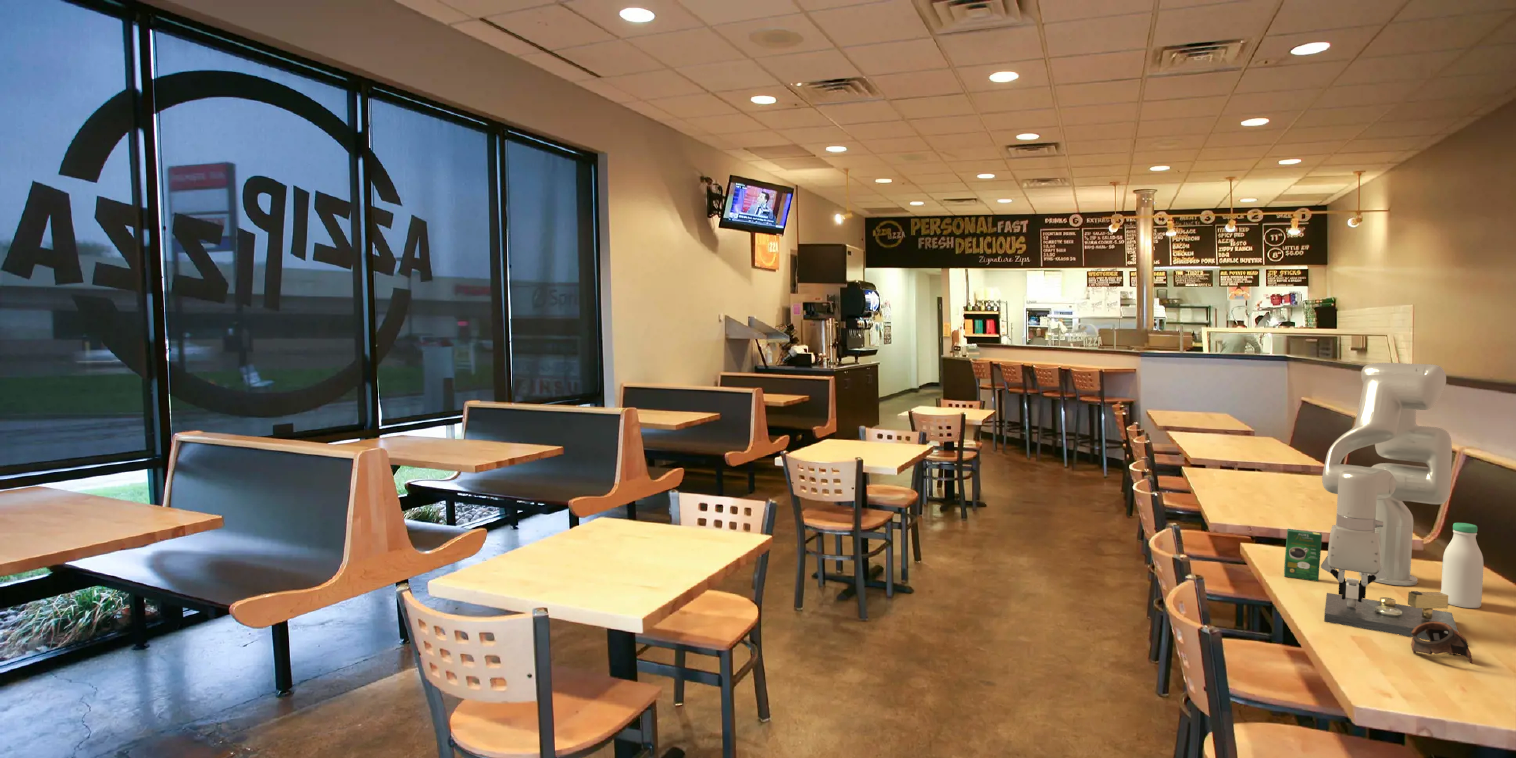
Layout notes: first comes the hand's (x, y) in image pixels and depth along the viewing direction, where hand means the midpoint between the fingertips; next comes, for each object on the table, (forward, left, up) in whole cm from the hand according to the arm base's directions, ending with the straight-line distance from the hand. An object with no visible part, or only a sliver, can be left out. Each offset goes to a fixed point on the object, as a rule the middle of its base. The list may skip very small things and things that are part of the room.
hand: (1351, 598), depth 195 cm
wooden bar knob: (0, +14, -2) cm, 14 cm away
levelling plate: (0, +7, -4) cm, 8 cm away
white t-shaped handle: (0, 0, -2) cm, 2 cm away
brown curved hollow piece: (+19, +15, -4) cm, 24 cm away
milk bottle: (-26, +22, -4) cm, 34 cm away
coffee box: (-27, -11, -4) cm, 29 cm away
